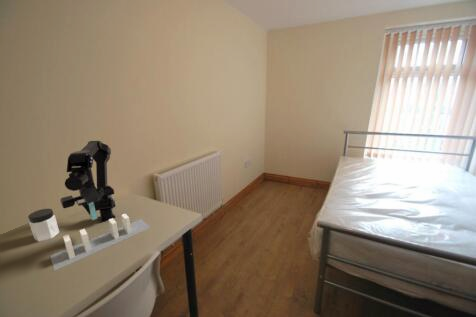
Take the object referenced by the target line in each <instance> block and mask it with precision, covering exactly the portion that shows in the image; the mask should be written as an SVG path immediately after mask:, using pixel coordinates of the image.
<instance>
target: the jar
mask: <svg viewBox="0 0 476 317" xmlns="http://www.w3.org/2000/svg"><path fill="white" fill-rule="evenodd" d="M27 218H28V223H29V224H28V225H29V227H30V229H31V233H32V236H33V238H34V240H36V242H40V243H41V242H44V241H47V240H50V239H53V238H54V237H56V236H57V235H58V234H59V233H60V229H59V226H58V222H57V219H56V215H55V214H54V211H53V209H52V208H43V209H38V210H35V211H33V212H31V213H30V214H29V215H28V217H27Z"/></svg>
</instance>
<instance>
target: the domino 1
mask: <svg viewBox="0 0 476 317" xmlns="http://www.w3.org/2000/svg"><path fill="white" fill-rule="evenodd" d="M62 239H63V243H64V245H65V250H67V253H68V256H69V258H70V259H71V258H74V257H75V253H74V250H73V246H74V245H73V243H72V240H71V238H70V235H69V234H65V235H63V236H62Z"/></svg>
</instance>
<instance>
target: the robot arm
mask: <svg viewBox="0 0 476 317" xmlns="http://www.w3.org/2000/svg"><path fill="white" fill-rule="evenodd" d="M111 154H112V150H111V148H110V147H109V145H108V144H105V143H103V142H102V141H101V140H90V141H88V142H87V144H86V145H85V146H84V147H83V148H82V149H81V150H78V151H73V152H70V154H69V155H68V157H67V165H66V173H69V174H68V177H67V178H66V179H65V181H64V186H65V187H66V189H67V190H69V191H71V192H72V191H73V192H75V191H78V192H79V195H77V196H75V197H73V195H68V196H67V195H66V196H63V197H61V198H60V204H61V206H62V208H63V209H67V208H70V207H74V206H75V205H76V204H77V205H78V206H79V207H81V206H82V207H83V208H84V209H85V210H86V212H87V214H88V215H90V210H89V208H88V205H87V204H89V203H91V202H94V206H95V211H96V212H97V211H99V215H100V216H98V219H99V221H100V222H101V223H105V222H109V219H112V218H113V219H116V218H117V217H116V215H115V214H114V212H113V209H115V208H116V207H117V206H116V200H115V199H114V198H113V197H112V195H114V194H115V189H114V188H113V187H112V186H111V185H108V166H107V164H108V162H109V160H110V159H111ZM94 162H95V163H96V164H95V165H96V166H95V167H96V171H95V172H96V173H95V174H96V185H95V181H94V175H93V170H92V168H93V164H94Z"/></svg>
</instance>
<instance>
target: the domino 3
mask: <svg viewBox="0 0 476 317" xmlns="http://www.w3.org/2000/svg"><path fill="white" fill-rule="evenodd" d="M87 205H88V208H89V210H90V215H89V214H88V215H89V218H90V219H91V220H92V221H94V220H97V219H98V216H97V211H95V206H94V202H91V203H89V204H87Z"/></svg>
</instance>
